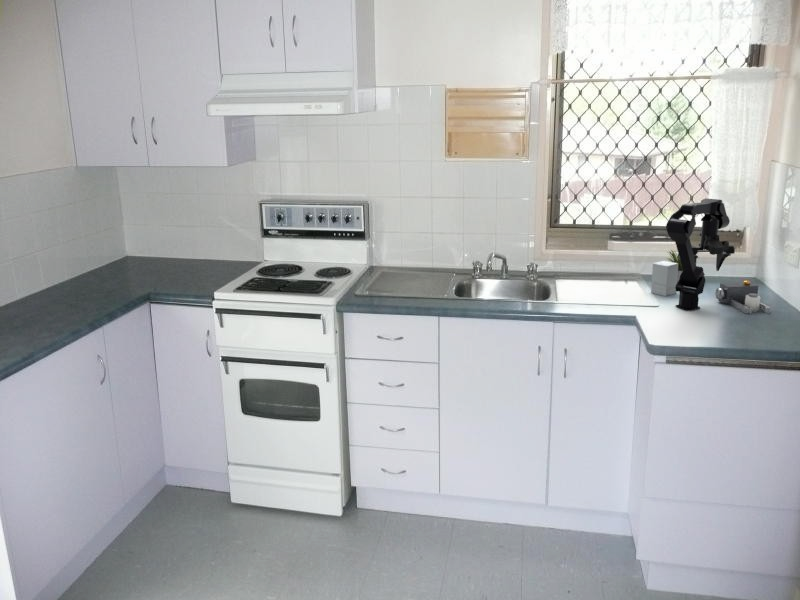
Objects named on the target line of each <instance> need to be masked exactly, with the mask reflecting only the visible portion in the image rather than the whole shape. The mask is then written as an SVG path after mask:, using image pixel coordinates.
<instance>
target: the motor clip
mask: <svg viewBox="0 0 800 600" xmlns="http://www.w3.org/2000/svg"><path fill="white" fill-rule="evenodd" d="M758 292H759V285H758V284H756V283H753V282H751V280H743V281H742V282H741V281H739V282H720V284H719V287H717V288H716V289H715V292H714V294H715V298H716V299H717V300H718V301H719V302H721V303H722V304H724V305H731V306H732V307H734V308H736V310H739V311H741V312H742V313H744V314H749V315H751V314H752V313H753V312H752V308H748V307H746V306H744V305H745V297H746V295H749V293H755V294H758ZM759 310H761V311H763V313H764V314H769V313H770V312H771V306H769V305H766V304H765V303H763V302H761V301H760V305H759Z"/></svg>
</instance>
